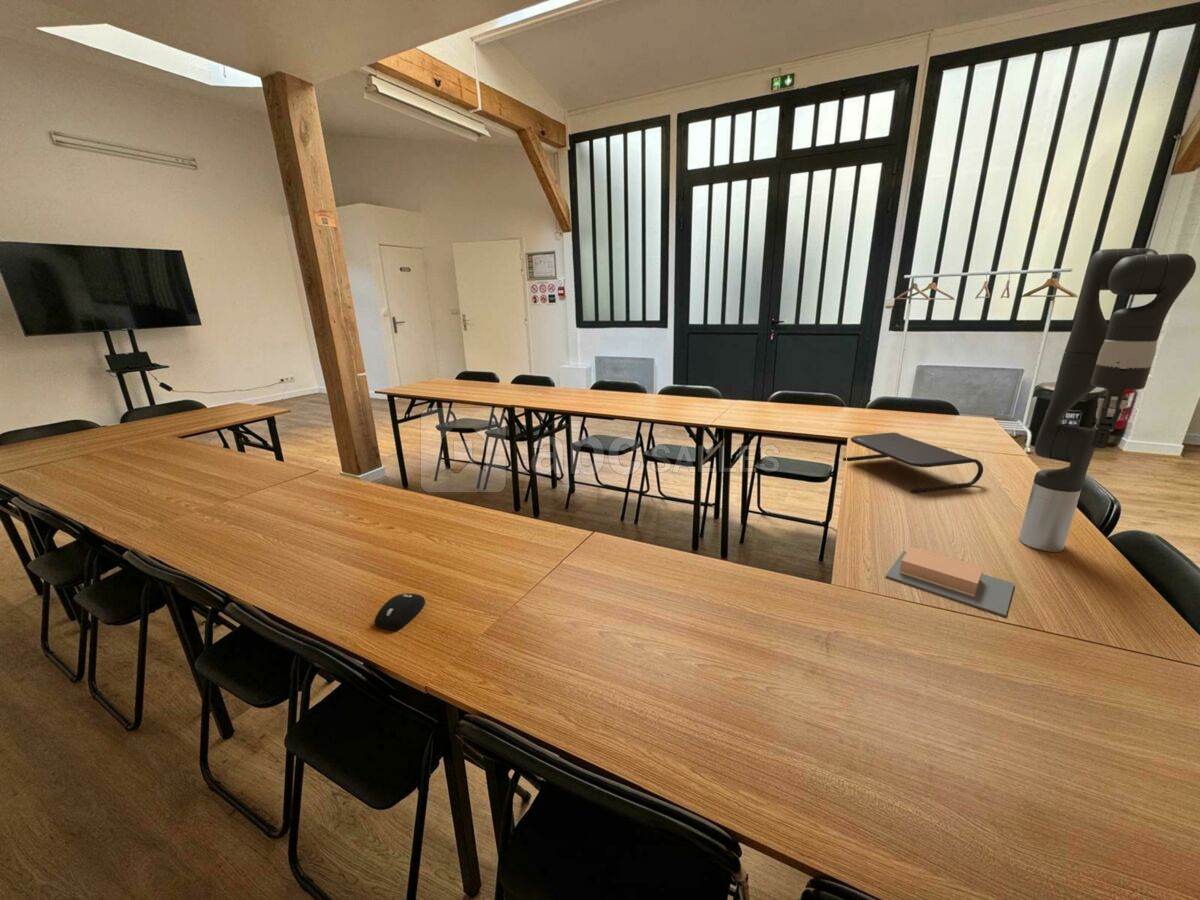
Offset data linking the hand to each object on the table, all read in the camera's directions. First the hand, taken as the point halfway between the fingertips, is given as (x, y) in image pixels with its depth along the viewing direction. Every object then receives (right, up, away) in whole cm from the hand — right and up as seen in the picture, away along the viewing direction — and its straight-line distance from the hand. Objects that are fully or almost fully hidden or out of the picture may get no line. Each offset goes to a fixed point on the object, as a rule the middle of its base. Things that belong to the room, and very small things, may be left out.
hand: (1098, 446), depth 99 cm
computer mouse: (-150, -39, +11) cm, 155 cm away
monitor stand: (+15, -10, +85) cm, 87 cm away
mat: (-20, -32, +16) cm, 41 cm away
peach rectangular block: (-16, -31, +11) cm, 37 cm away
